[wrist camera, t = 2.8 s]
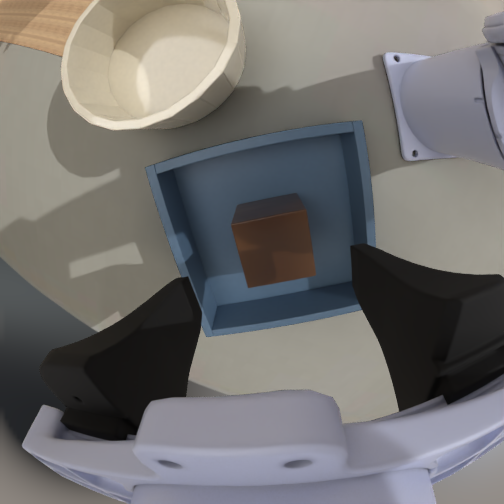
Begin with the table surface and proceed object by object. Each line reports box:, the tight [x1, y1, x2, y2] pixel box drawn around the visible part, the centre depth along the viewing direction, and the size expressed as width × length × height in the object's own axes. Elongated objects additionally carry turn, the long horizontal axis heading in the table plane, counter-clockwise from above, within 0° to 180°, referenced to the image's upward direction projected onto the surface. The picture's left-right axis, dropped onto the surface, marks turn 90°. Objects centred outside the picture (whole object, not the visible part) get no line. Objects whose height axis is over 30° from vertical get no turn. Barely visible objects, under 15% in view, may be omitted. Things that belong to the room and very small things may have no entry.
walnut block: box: [231, 193, 316, 288], centre depth 16 cm, size 4×4×4 cm
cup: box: [61, 0, 246, 131], centre depth 11 cm, size 10×10×6 cm
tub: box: [145, 121, 376, 337], centre depth 17 cm, size 12×12×3 cm
